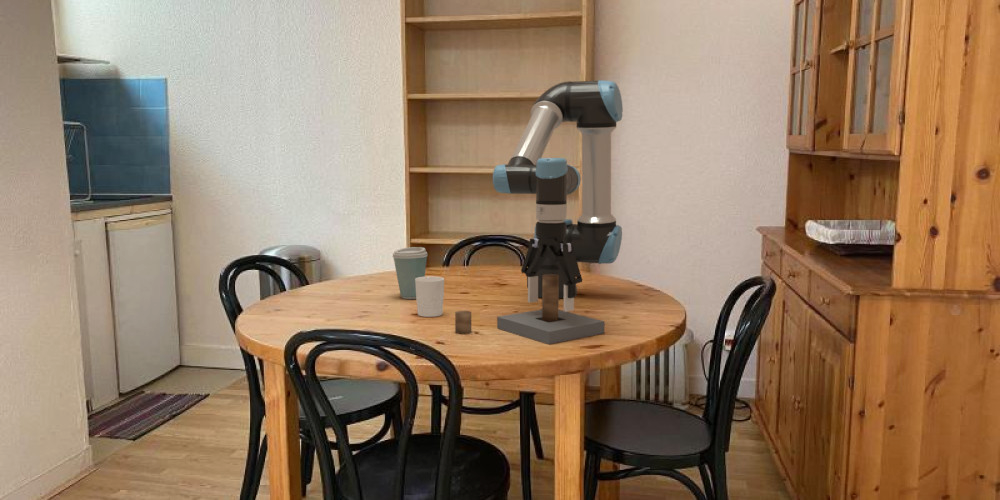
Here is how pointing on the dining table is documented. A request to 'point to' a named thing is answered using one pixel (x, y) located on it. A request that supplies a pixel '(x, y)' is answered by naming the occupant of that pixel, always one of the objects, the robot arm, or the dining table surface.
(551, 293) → the tall pin
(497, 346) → the dining table surface
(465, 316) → the short pin
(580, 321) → the hole plate
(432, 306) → the white cup
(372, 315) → the dining table surface
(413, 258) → the disposable coffee cup
